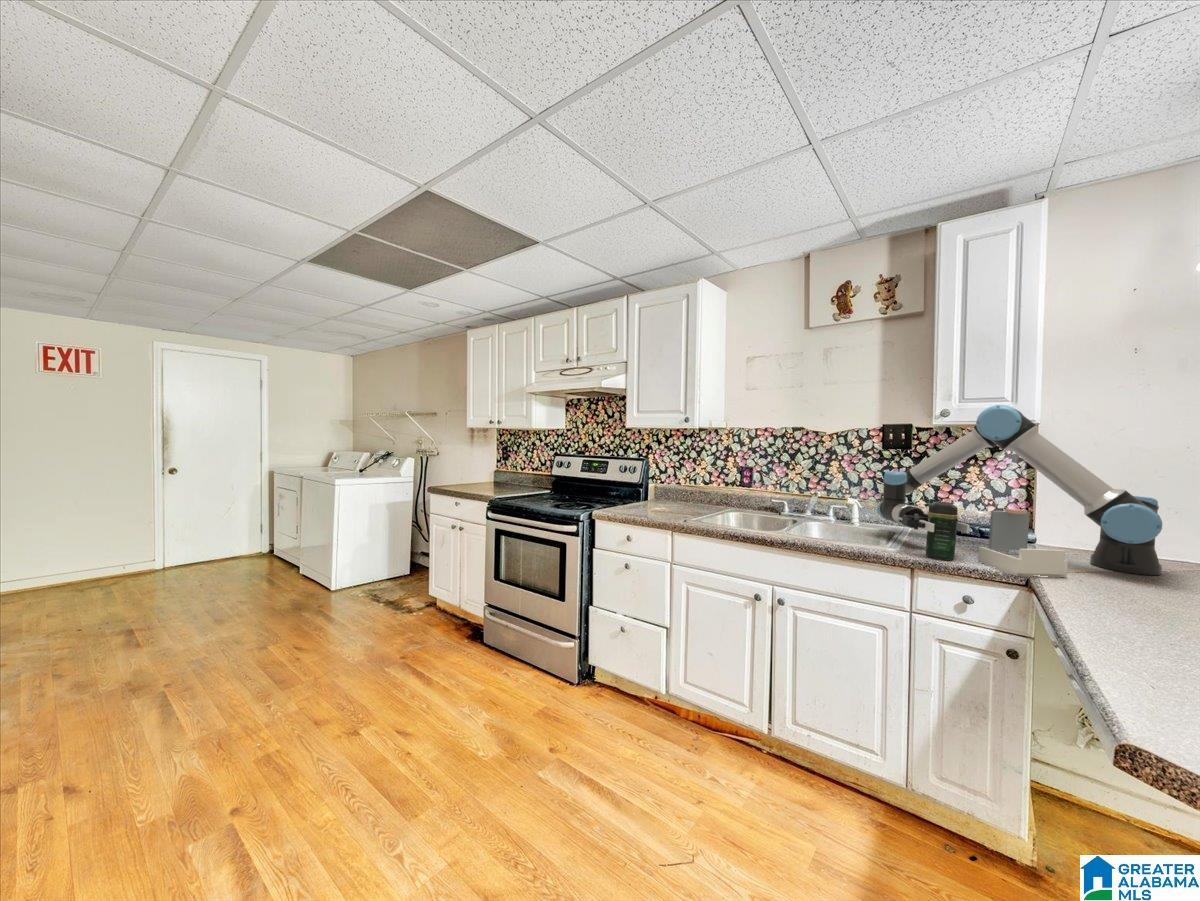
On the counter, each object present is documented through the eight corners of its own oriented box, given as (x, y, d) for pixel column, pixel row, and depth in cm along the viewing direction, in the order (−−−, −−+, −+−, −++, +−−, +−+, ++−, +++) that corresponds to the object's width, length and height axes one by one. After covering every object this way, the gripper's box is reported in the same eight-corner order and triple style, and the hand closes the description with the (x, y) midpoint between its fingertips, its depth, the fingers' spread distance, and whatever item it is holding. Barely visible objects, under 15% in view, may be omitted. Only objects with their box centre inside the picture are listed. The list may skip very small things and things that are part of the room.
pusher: (1024, 549, 150) (1027, 508, 149) (1035, 552, 146) (1038, 511, 145) (988, 548, 150) (991, 507, 150) (998, 551, 146) (1001, 510, 146)
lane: (1022, 563, 152) (1024, 538, 152) (1066, 578, 137) (1068, 550, 137) (978, 561, 153) (979, 537, 152) (1017, 576, 138) (1019, 549, 137)
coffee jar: (955, 562, 151) (958, 505, 150) (925, 558, 156) (928, 502, 155) (954, 556, 159) (957, 501, 158) (925, 552, 164) (929, 499, 163)
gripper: (939, 527, 175) (986, 541, 153) (876, 524, 176) (913, 538, 153) (941, 506, 174) (987, 518, 152) (877, 504, 175) (915, 515, 153)
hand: (950, 528), depth 153 cm, fingers open, 10 cm apart
